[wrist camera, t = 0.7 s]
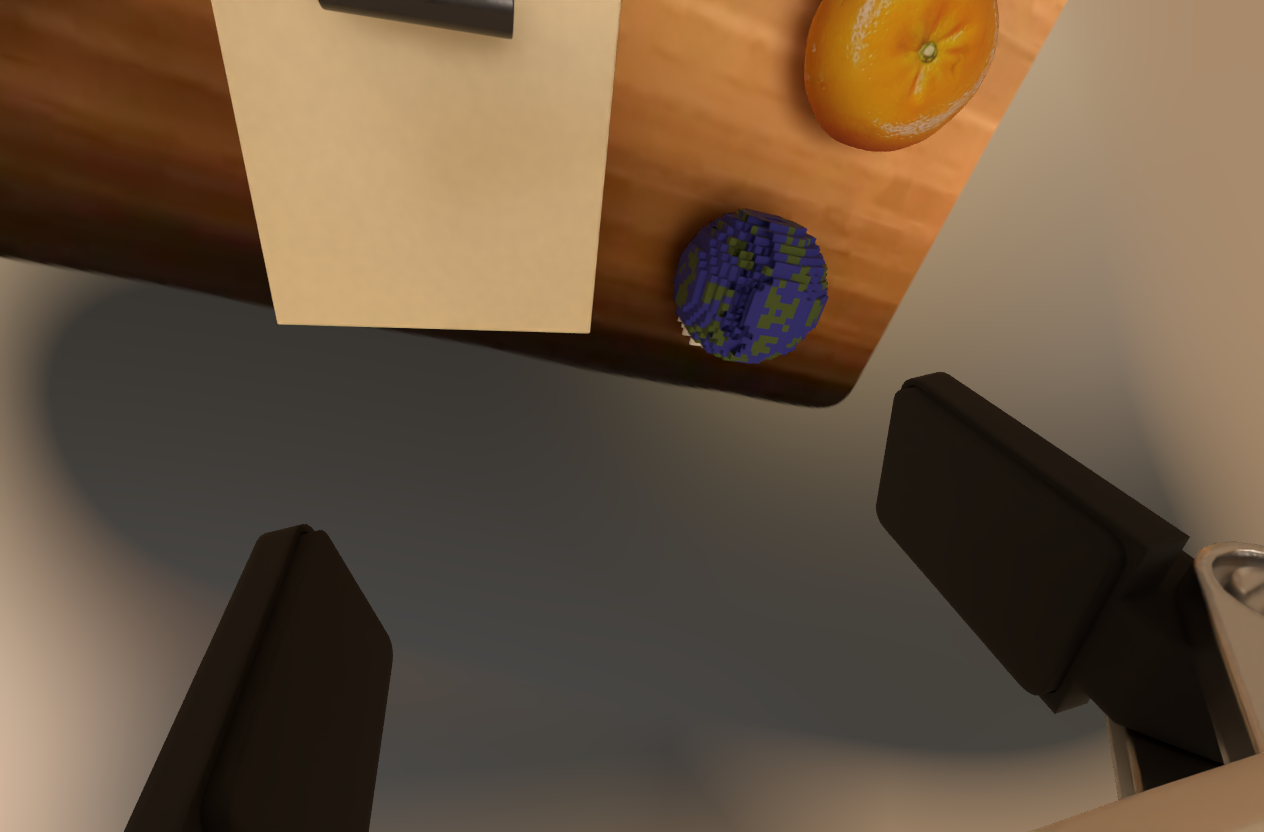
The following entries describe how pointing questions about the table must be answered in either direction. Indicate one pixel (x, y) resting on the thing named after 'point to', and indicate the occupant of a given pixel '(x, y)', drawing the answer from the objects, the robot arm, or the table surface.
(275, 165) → the wooden box lid
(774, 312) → the ball
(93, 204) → the table surface
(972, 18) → the fruit
